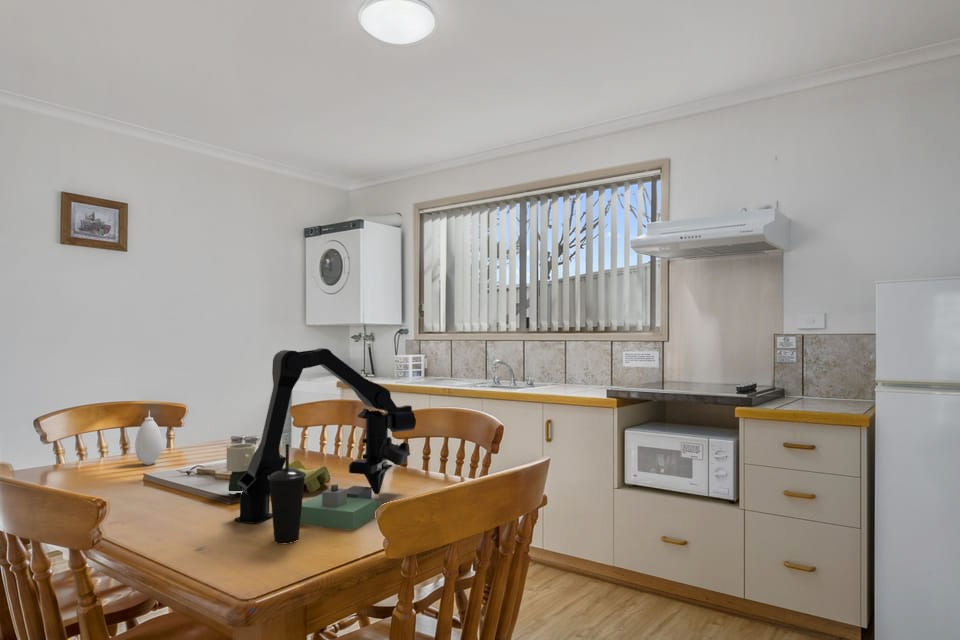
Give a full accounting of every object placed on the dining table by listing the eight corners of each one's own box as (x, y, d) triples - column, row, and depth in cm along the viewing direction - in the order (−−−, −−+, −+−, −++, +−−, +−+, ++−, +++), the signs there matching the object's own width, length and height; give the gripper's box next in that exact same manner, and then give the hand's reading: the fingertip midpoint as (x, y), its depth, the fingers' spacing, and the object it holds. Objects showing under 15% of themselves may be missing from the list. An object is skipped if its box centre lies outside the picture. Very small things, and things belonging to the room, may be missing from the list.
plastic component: (270, 475, 176) (300, 456, 182) (282, 497, 178) (311, 477, 183) (297, 483, 161) (328, 462, 167) (309, 507, 162) (340, 485, 168)
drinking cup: (266, 548, 123) (267, 448, 123) (268, 536, 130) (268, 442, 131) (305, 544, 125) (306, 446, 126) (305, 532, 133) (306, 440, 133)
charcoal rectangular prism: (357, 515, 146) (357, 494, 146) (339, 513, 147) (339, 492, 147) (371, 507, 152) (371, 487, 152) (353, 505, 154) (353, 485, 154)
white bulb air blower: (159, 461, 206) (159, 407, 207) (164, 465, 200) (164, 409, 201) (133, 464, 202) (133, 409, 202) (137, 468, 195) (137, 411, 196)
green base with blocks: (353, 530, 134) (353, 492, 134) (294, 523, 139) (295, 487, 139) (388, 509, 150) (388, 475, 150) (335, 503, 155) (335, 471, 155)
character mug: (261, 496, 162) (262, 446, 163) (234, 500, 158) (235, 450, 158) (246, 488, 170) (246, 441, 171) (219, 492, 166) (220, 444, 166)
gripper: (388, 442, 149) (388, 506, 149) (419, 430, 167) (419, 487, 166) (347, 439, 152) (347, 502, 152) (382, 428, 170) (382, 484, 170)
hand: (376, 493), depth 160 cm, fingers closed
